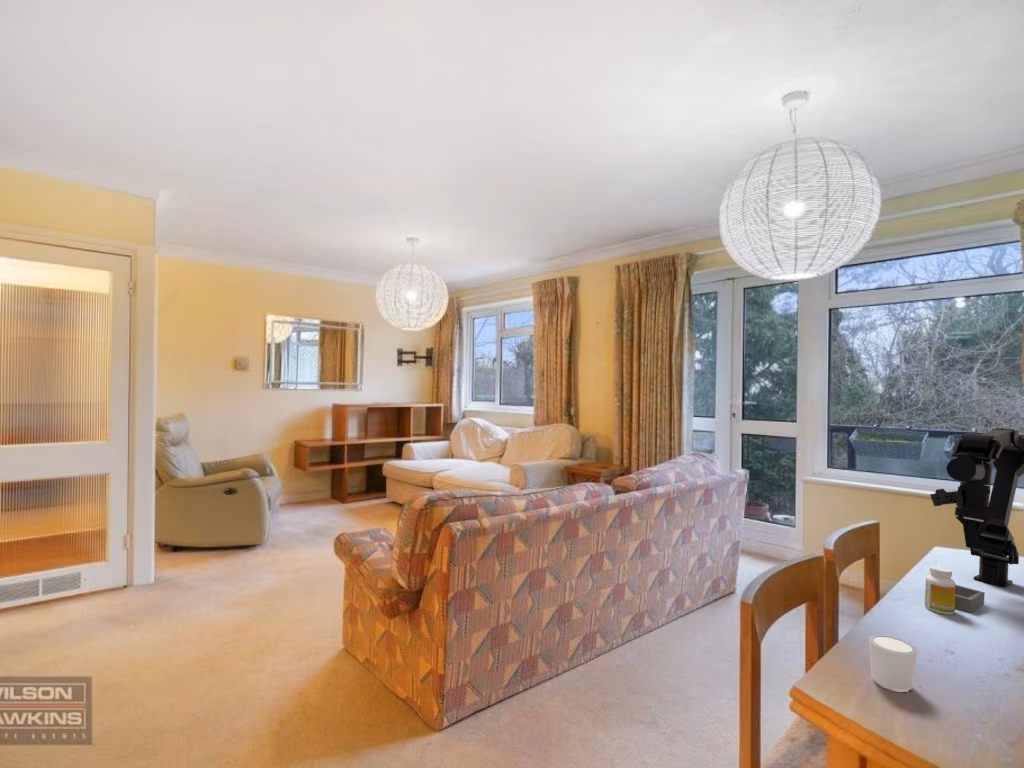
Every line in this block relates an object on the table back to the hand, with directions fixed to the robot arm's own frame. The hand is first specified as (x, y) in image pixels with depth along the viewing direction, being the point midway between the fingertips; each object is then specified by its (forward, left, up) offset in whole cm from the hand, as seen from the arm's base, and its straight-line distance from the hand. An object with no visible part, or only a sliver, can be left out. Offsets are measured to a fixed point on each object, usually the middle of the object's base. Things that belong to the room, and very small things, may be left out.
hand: (969, 546), depth 130 cm
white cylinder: (+61, +8, -13) cm, 63 cm away
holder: (+8, 0, -12) cm, 15 cm away
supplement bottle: (+17, 0, -13) cm, 21 cm away
